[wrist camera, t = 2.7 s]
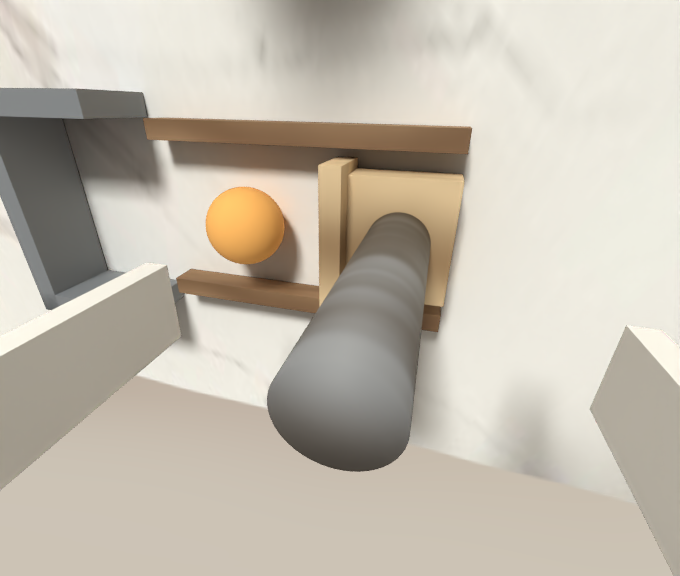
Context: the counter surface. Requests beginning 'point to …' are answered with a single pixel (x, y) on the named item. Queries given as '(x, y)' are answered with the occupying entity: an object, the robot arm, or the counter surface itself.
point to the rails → (304, 136)
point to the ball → (245, 225)
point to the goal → (55, 186)
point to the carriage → (367, 313)
